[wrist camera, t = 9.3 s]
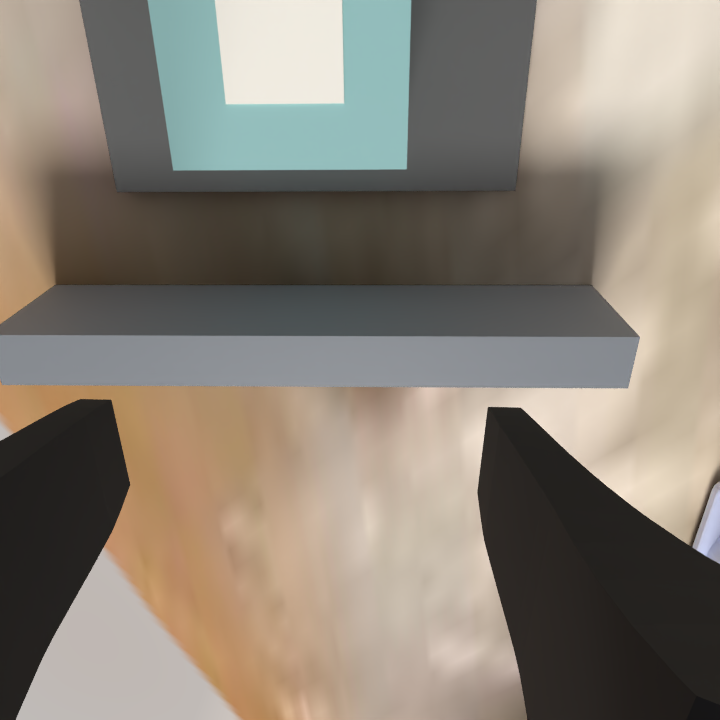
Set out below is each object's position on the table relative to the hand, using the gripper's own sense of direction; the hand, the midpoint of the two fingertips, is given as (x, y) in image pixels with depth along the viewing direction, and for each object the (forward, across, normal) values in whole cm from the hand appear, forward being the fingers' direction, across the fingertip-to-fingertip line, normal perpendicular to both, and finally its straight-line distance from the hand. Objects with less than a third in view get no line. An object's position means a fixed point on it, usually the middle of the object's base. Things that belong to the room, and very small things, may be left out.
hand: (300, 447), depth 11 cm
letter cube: (+9, 0, -7) cm, 11 cm away
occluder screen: (+9, 0, +1) cm, 9 cm away
